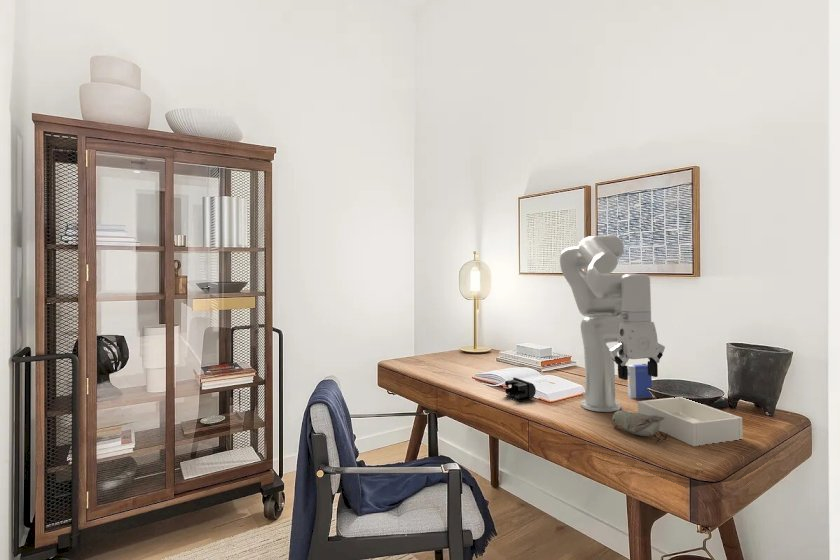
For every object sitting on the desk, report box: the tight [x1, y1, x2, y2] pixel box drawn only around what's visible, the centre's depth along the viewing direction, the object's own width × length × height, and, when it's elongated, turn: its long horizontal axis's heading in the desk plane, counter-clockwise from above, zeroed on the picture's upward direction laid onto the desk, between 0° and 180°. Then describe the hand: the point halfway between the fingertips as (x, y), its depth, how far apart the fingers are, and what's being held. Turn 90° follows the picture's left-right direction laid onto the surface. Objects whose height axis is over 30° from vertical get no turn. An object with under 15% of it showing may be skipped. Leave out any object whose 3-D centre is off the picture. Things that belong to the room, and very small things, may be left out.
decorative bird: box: [611, 409, 668, 444], centre depth 129 cm, size 5×16×8 cm, turn 30°
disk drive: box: [688, 393, 729, 409], centre depth 155 cm, size 10×3×15 cm
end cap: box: [504, 377, 537, 403], centre depth 170 cm, size 10×7×7 cm
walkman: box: [626, 363, 653, 399], centre depth 166 cm, size 8×3×12 cm, turn 90°
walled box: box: [637, 396, 744, 447], centre depth 132 cm, size 22×16×6 cm
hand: (638, 377), depth 129 cm, fingers open, 9 cm apart
